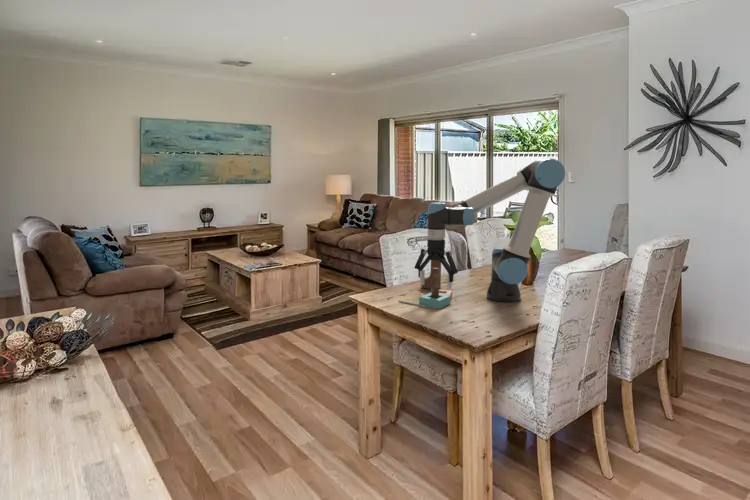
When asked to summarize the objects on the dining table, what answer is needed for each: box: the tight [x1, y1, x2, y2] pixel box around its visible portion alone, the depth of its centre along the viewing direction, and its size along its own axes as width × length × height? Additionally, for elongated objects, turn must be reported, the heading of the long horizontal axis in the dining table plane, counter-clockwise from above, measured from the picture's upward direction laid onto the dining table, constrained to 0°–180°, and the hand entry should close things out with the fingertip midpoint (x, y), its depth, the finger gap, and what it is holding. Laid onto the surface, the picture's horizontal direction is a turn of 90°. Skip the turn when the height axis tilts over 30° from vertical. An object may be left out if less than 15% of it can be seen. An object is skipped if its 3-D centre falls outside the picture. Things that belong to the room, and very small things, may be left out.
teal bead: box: [418, 292, 452, 309], centre depth 216 cm, size 10×10×4 cm
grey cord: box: [398, 299, 427, 308], centre depth 216 cm, size 14×1×1 cm, turn 54°
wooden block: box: [421, 259, 442, 290], centre depth 243 cm, size 9×4×18 cm, turn 74°
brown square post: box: [430, 268, 440, 298], centre depth 214 cm, size 3×3×16 cm
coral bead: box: [439, 289, 453, 299], centre depth 225 cm, size 8×8×3 cm
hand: (435, 287), depth 215 cm, fingers open, 13 cm apart
